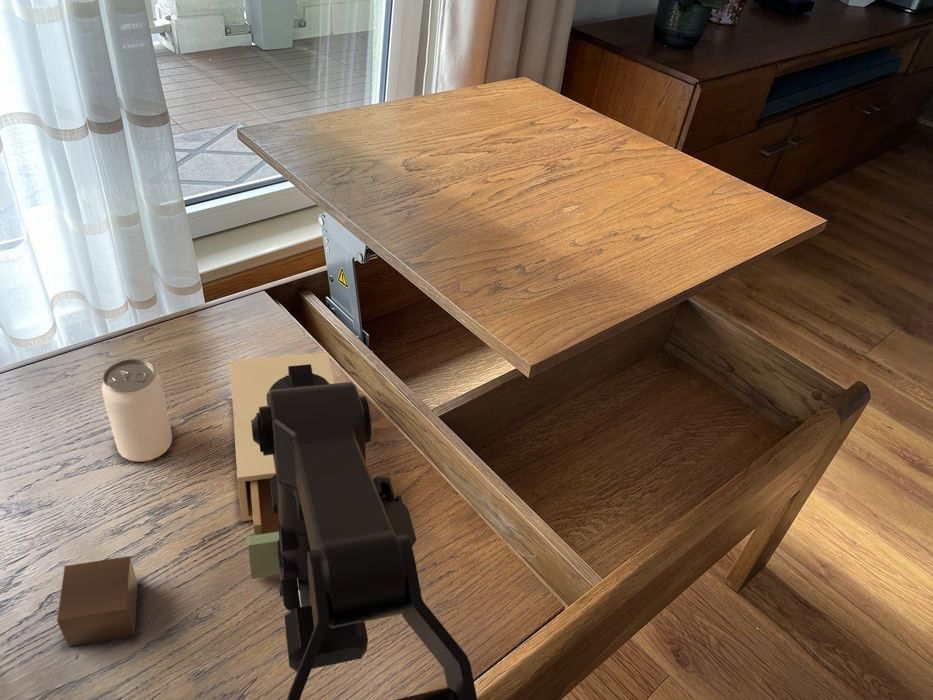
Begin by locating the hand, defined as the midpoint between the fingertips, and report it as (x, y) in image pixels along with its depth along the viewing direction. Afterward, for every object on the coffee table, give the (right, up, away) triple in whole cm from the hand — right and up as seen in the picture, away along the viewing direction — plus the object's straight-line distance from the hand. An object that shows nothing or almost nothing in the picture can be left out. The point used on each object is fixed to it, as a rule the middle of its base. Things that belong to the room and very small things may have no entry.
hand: (314, 607), depth 68 cm
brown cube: (-23, -3, +5) cm, 24 cm away
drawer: (-5, +5, +16) cm, 17 cm away
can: (-26, +13, +23) cm, 37 cm away
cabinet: (-9, +11, +25) cm, 28 cm away
